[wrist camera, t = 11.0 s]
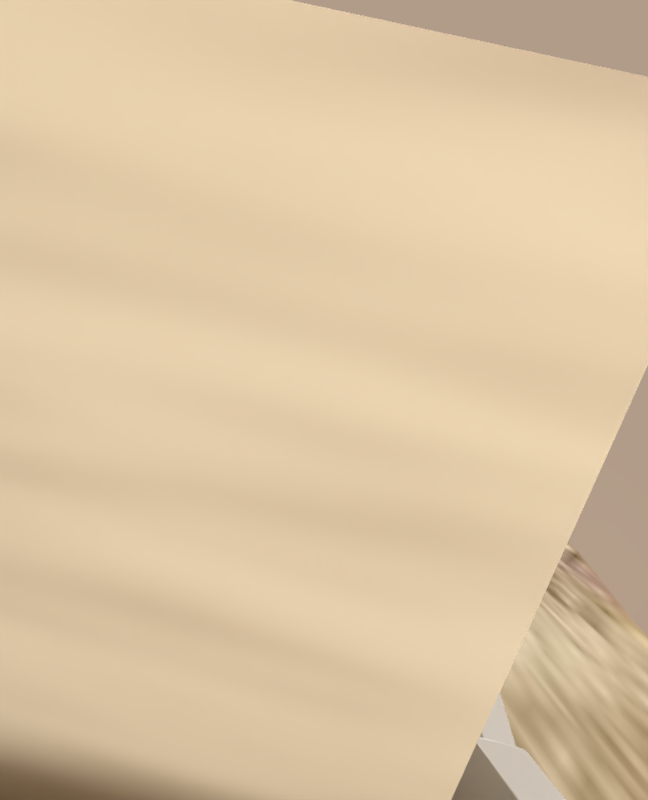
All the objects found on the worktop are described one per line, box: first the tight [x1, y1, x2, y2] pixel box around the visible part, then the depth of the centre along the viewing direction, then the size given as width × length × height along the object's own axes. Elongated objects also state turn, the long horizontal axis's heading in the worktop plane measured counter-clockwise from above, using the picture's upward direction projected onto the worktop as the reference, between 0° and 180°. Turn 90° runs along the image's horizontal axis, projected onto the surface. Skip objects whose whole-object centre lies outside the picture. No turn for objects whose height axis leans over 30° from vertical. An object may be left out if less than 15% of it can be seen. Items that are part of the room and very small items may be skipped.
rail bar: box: [0, 0, 648, 800], centre depth 8 cm, size 5×5×18 cm
